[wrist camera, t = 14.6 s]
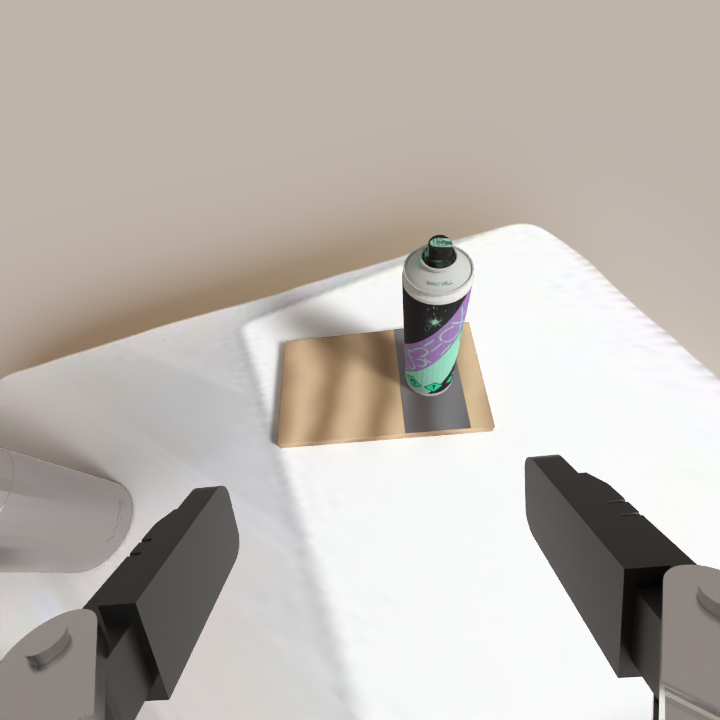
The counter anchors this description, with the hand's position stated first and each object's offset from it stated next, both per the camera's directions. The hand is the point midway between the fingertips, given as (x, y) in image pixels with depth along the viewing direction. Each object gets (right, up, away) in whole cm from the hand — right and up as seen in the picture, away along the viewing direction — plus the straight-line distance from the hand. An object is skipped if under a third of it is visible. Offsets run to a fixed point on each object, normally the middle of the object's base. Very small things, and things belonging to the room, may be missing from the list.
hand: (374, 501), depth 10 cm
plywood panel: (+2, +1, +35) cm, 35 cm away
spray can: (+8, +2, +33) cm, 34 cm away
